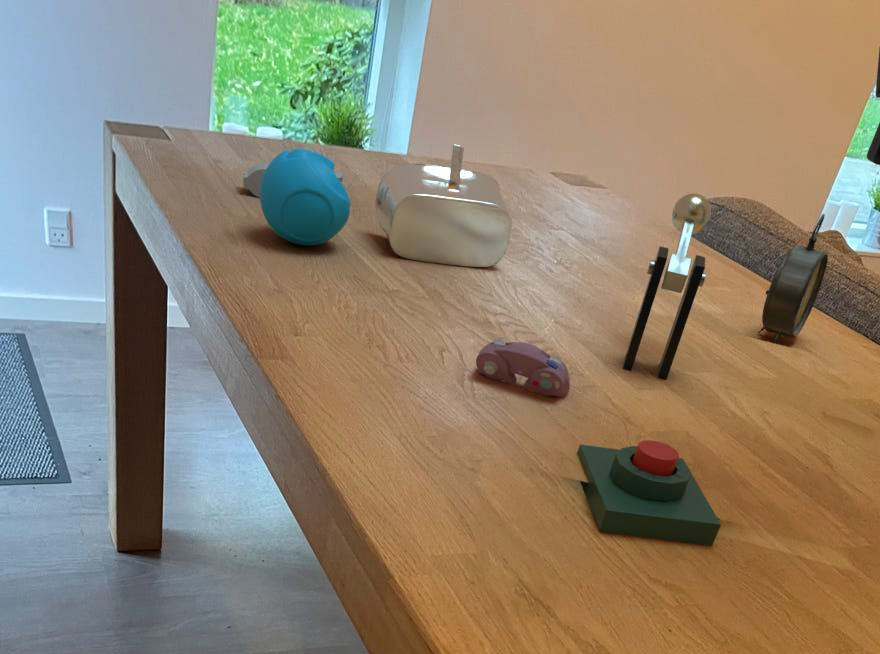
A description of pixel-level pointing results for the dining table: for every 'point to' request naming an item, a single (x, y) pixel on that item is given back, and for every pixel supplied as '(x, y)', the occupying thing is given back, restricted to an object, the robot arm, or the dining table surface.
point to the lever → (685, 237)
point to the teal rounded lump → (303, 197)
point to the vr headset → (444, 214)
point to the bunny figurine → (255, 176)
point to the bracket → (681, 317)
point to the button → (655, 458)
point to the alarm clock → (794, 289)
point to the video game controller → (524, 367)
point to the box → (645, 499)
